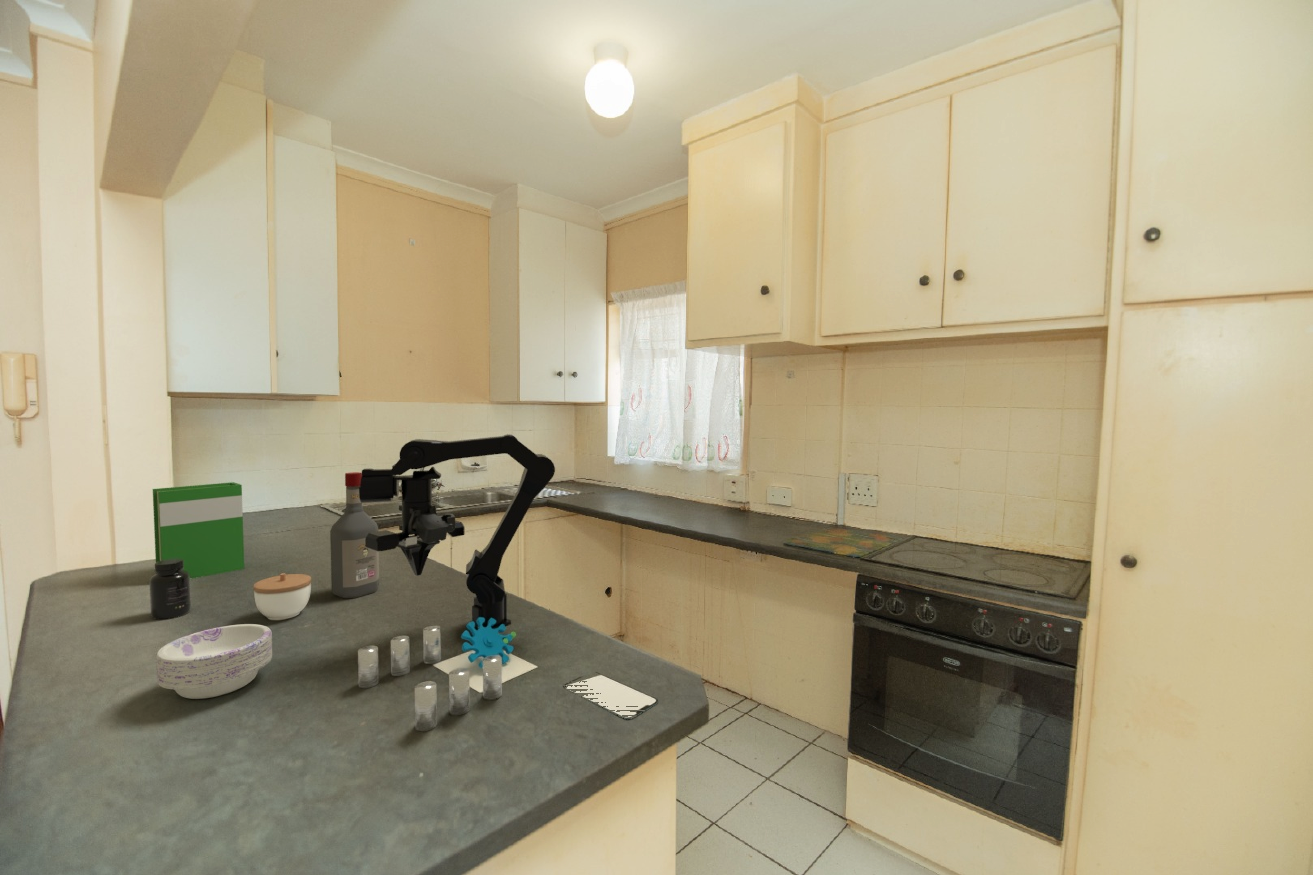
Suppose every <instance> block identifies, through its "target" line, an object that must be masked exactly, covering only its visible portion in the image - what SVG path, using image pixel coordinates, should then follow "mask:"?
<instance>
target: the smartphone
mask: <svg viewBox="0 0 1313 875" xmlns="http://www.w3.org/2000/svg"><path fill="white" fill-rule="evenodd" d="M594 673H596V674H598V675H596V676H593V677H591V678H587V679H583V680H580V681H581V682H580V681H577V680H579V679H582V678H583V677H584V675H583V676H579V677H577V678H575V679H573V680H570V681H568V682H569V683H568V682H566V683H565V684H563V685H565V686H567V685H573V686H572V687H571V686H568V687H567V688H565V686H563V685H562V688H563V689H565V690H566V689H588V690H587V691H581V692H580V691H576V692H573V691H571V690H569V691H568V692H570V691H571V692H570V693H572V694H574V693H594V695H592V694H591V695H590V694H588V696H586V695H584V696H581V697H580V698H582V699H583V698H598V699H593V700H590V699H587V700H588V702H589V701H590V702H589V703H591V702H599V703H598V704H596V703H594V704H593V705H595V704H596V705H595V706H597V705H598V706H597V707H599V706H602V707H603V706H606V707H603V708H604V709H603V708H602V709H603V710H605V711H606V710H615V711H610V712H612V713H614V714H615V716H616V715H619V716H620V717H621V716H622V715H639V714H640V715H641V713H642V712H643V711H637V712H630V711H620V712H616V711H617V710H647V711H648V710H650V709H651V707H652V706H653V707H654V706H656V705H658V704H659V699H658V698H656V697H653V696H651V695H649V694H647V693H646V692H642V691H640V690H638V689H636V688H633V687H631V686H629V685H628V684H625V683H622V682H620V681H618V680H615V679H613V678H611V677H609V676H606V675H604V674H601V673H599V672H598V671H596V672H594ZM571 681H573V682H574V683H572V682H571ZM575 681H577V682H575ZM582 681H587V682H585V683H584V682H582ZM579 682H580V683H579ZM574 685H588V687H587V686H582V687H580V686H577V687H575V686H574ZM590 689H593V690H590ZM596 693H599V694H596ZM600 693H601V694H600ZM587 700H586V701H587ZM601 702H603V703H601ZM605 702H606V703H605ZM657 703H658V704H657ZM607 706H608V707H607ZM616 706H619V707H616ZM626 706H638V707H626ZM653 707H652V708H653ZM649 708H650V709H649ZM610 712H609V713H610ZM612 713H611V714H612ZM643 713H644V712H643ZM643 713H642V714H643ZM614 714H613V715H614ZM640 715H639V716H640ZM620 717H619V718H620ZM631 717H632V716H628V717H622V718H624V719H631ZM622 718H621V719H622ZM624 719H623V720H624Z"/></svg>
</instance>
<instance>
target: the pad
mask: <svg viewBox="0 0 1313 875" xmlns="http://www.w3.org/2000/svg"><path fill="white" fill-rule="evenodd" d="M503 652H504V653H505V654H506V655H507V656H508V657H509V660H508V661H507V662H506V663H504V664H502V684H504V683H506V682H508V681H510V680H513V679H515V678H517V677H519V676H522V675H523V674H526V673H528V672H530V671H531V672H532V670H535V669H538V666H537V665H535V664H534V663H531V662H528V660H527V661H526V660H525V659H523V658H520V657H518V656H516V655H514V654H513V653H510V654H507V653H506V651H505V649H503ZM471 653H475V651H473V650H468V651H465V652H464V653H461V654H458V655H456V656H453V657H451V658H448V659H445V660H442V661H439V662H437V663H434V664H432V666H433V667H434V668H436V669H438V670H440V671H442V672H443V673H445V674H446V675H448V676H449V673H450V672H451V671H452V670H454V669H458V668H466V669H468V670H469V688H470V689H472V690H474V691H475V692H478V693H479V694H481V693H482V694H483V669H482V668H480V667H479V663H480V662H481V661H482V660H483V659H484V657H478V658H476V660H475V661H474V662H472V663H471V662H470V661H469V659H468V656H469V655H470V654H471ZM498 656H500V655H498Z"/></svg>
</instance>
